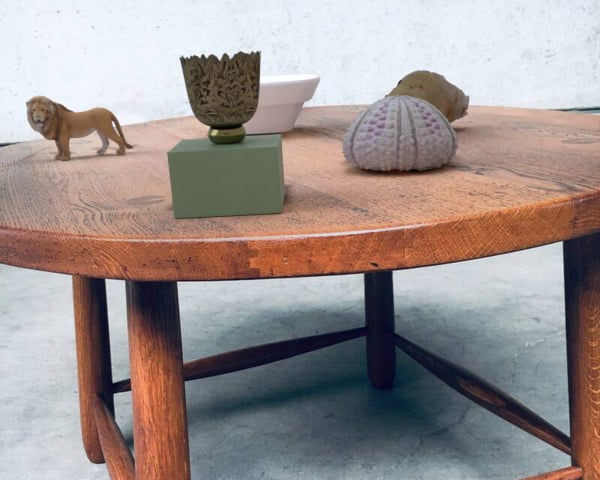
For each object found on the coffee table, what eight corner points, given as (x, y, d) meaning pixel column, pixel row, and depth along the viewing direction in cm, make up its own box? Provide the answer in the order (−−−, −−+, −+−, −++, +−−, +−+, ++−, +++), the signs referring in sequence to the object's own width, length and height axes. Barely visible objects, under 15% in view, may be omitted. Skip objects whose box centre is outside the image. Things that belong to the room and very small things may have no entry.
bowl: (186, 146, 137) (180, 87, 134) (204, 131, 156) (199, 79, 153) (321, 139, 136) (318, 79, 133) (323, 125, 155) (321, 72, 152)
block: (174, 218, 83) (166, 152, 81) (188, 199, 93) (182, 139, 90) (281, 213, 83) (277, 146, 81) (285, 194, 92) (281, 134, 90)
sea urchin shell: (358, 160, 113) (355, 92, 110) (466, 158, 108) (467, 88, 105) (328, 177, 101) (325, 102, 98) (449, 176, 97) (449, 98, 94)
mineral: (407, 82, 114) (337, 97, 119) (421, 154, 117) (352, 166, 122) (465, 56, 135) (404, 69, 140) (475, 118, 139) (414, 129, 143)
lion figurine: (38, 164, 126) (27, 97, 123) (30, 161, 131) (20, 96, 127) (138, 153, 132) (131, 89, 129) (128, 150, 137) (120, 88, 133)
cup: (180, 142, 88) (171, 55, 84) (252, 135, 90) (246, 50, 87) (200, 150, 81) (191, 55, 78) (277, 142, 83) (271, 49, 80)
